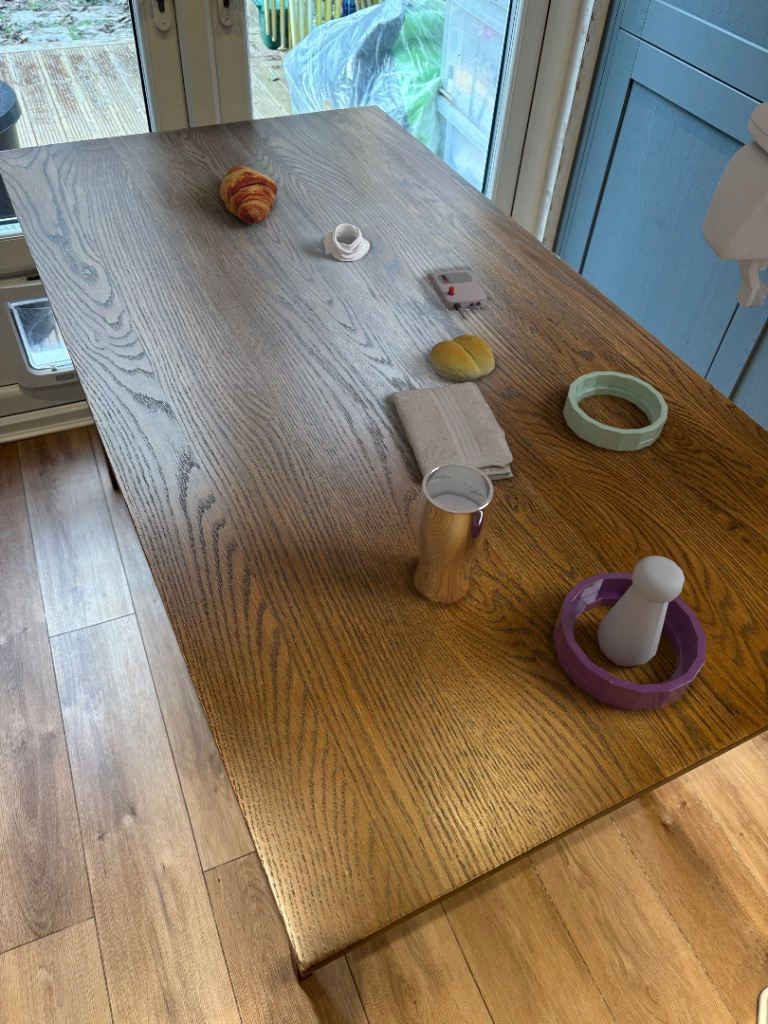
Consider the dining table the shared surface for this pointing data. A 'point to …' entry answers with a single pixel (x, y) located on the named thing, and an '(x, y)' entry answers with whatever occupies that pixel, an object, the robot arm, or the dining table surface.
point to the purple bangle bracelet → (601, 684)
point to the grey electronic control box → (458, 290)
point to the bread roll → (462, 358)
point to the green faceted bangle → (622, 388)
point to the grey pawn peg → (640, 613)
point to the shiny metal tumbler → (450, 528)
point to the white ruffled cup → (343, 236)
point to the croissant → (248, 193)
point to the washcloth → (453, 429)
